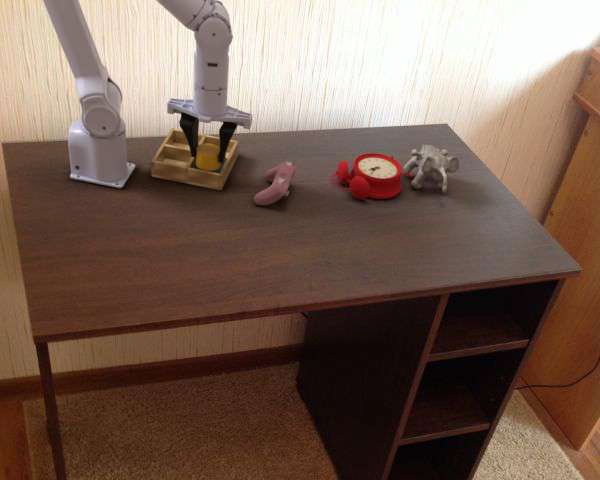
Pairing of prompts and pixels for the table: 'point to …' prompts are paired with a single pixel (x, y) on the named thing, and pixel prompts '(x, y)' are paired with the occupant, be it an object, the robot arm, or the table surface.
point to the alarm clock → (371, 176)
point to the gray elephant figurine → (431, 166)
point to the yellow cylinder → (207, 157)
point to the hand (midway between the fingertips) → (208, 157)
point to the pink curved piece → (276, 184)
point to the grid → (191, 161)
